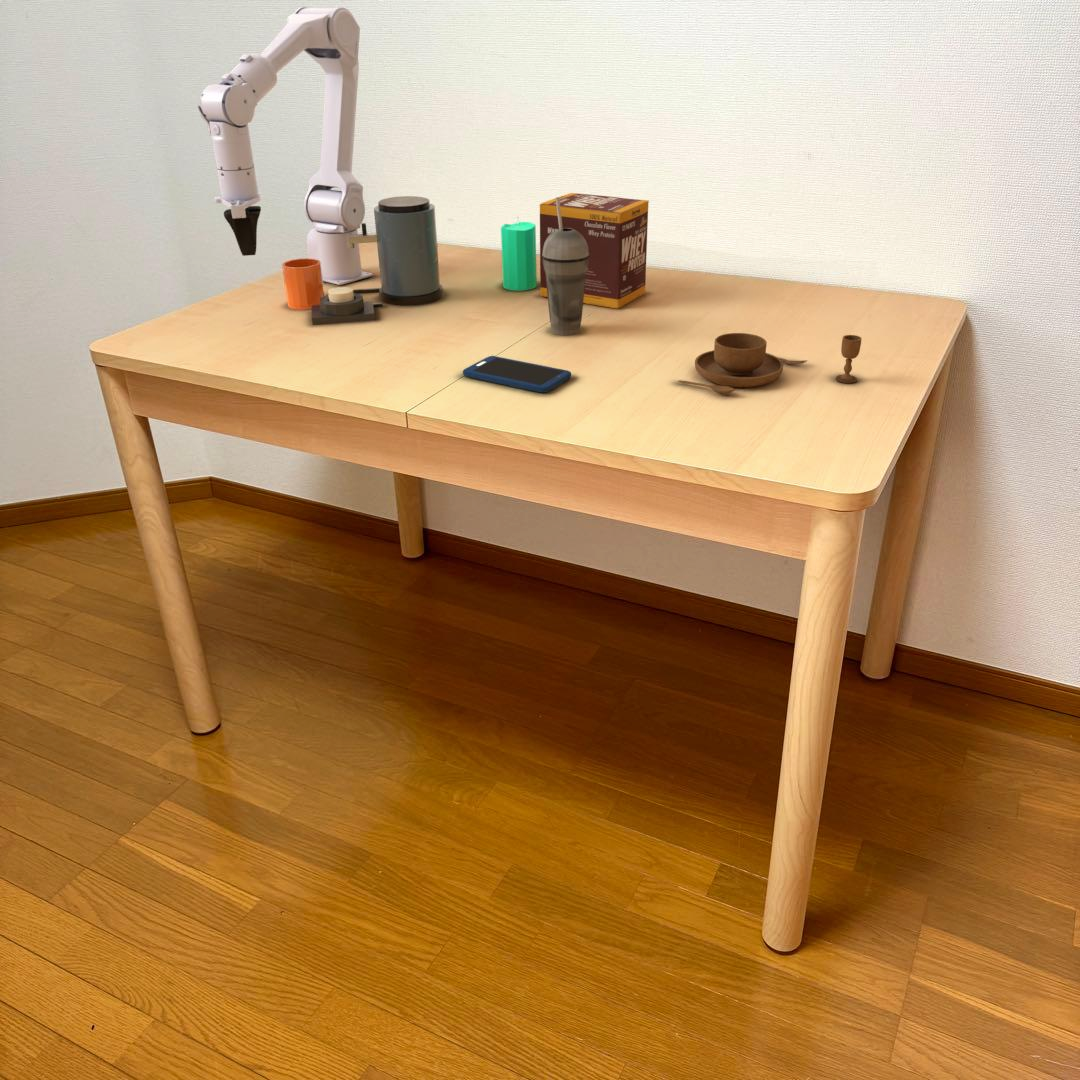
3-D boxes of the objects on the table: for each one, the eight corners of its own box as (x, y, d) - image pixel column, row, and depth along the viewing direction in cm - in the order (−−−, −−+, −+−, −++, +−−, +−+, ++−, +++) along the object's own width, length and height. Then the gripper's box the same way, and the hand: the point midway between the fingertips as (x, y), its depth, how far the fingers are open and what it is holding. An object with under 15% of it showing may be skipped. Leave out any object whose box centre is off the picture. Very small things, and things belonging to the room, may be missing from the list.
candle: (538, 281, 183) (537, 212, 177) (534, 290, 177) (533, 220, 171) (505, 281, 183) (502, 212, 177) (500, 290, 178) (498, 220, 172)
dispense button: (329, 305, 163) (328, 294, 162) (329, 298, 167) (327, 287, 166) (354, 303, 164) (353, 292, 163) (353, 296, 167) (352, 286, 166)
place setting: (733, 348, 149) (736, 309, 146) (862, 378, 138) (868, 336, 135) (667, 383, 138) (669, 341, 135) (802, 418, 127) (808, 373, 124)
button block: (312, 325, 163) (310, 306, 161) (312, 312, 169) (310, 294, 167) (375, 320, 164) (373, 302, 163) (373, 308, 170) (371, 290, 169)
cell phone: (490, 359, 147) (490, 354, 146) (573, 376, 140) (573, 371, 140) (460, 375, 141) (460, 370, 141) (545, 393, 135) (545, 388, 134)
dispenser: (330, 311, 169) (318, 212, 161) (330, 293, 178) (318, 199, 170) (446, 303, 172) (439, 205, 164) (439, 286, 181) (433, 193, 173)
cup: (280, 305, 172) (274, 264, 169) (309, 297, 177) (303, 256, 173) (304, 312, 169) (298, 269, 166) (332, 303, 173) (327, 261, 170)
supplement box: (619, 309, 167) (621, 211, 159) (539, 296, 174) (537, 202, 167) (647, 293, 175) (650, 199, 167) (569, 281, 182) (569, 191, 174)
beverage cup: (585, 339, 154) (585, 203, 144) (538, 337, 156) (535, 202, 146) (592, 324, 160) (593, 193, 151) (547, 322, 162) (545, 191, 152)
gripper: (213, 161, 166) (227, 245, 173) (205, 176, 154) (220, 267, 160) (257, 159, 167) (269, 243, 174) (253, 174, 155) (266, 264, 161)
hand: (249, 254), depth 167 cm, fingers closed
